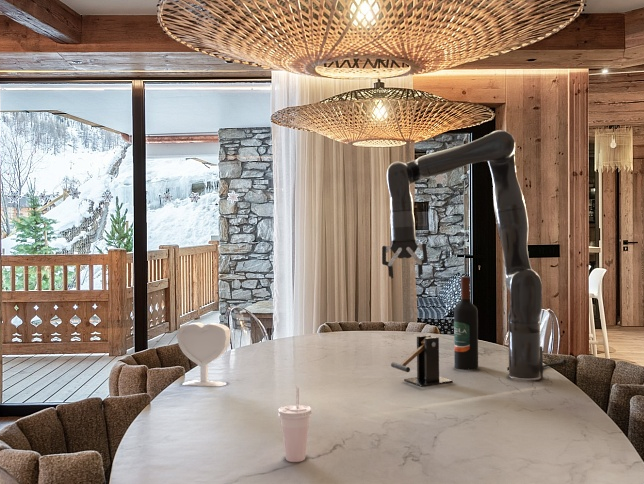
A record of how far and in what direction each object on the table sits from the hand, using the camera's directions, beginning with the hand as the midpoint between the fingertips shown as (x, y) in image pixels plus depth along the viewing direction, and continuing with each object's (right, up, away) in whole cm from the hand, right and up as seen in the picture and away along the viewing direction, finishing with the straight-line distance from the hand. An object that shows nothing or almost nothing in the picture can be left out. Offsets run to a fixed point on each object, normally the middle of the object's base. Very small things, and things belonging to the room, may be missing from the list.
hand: (405, 277), depth 190 cm
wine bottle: (+20, -30, +6) cm, 37 cm away
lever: (+2, -22, -15) cm, 27 cm away
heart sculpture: (-61, -31, -10) cm, 69 cm away
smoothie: (-27, -31, -72) cm, 83 cm away
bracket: (+5, -30, -13) cm, 33 cm away
